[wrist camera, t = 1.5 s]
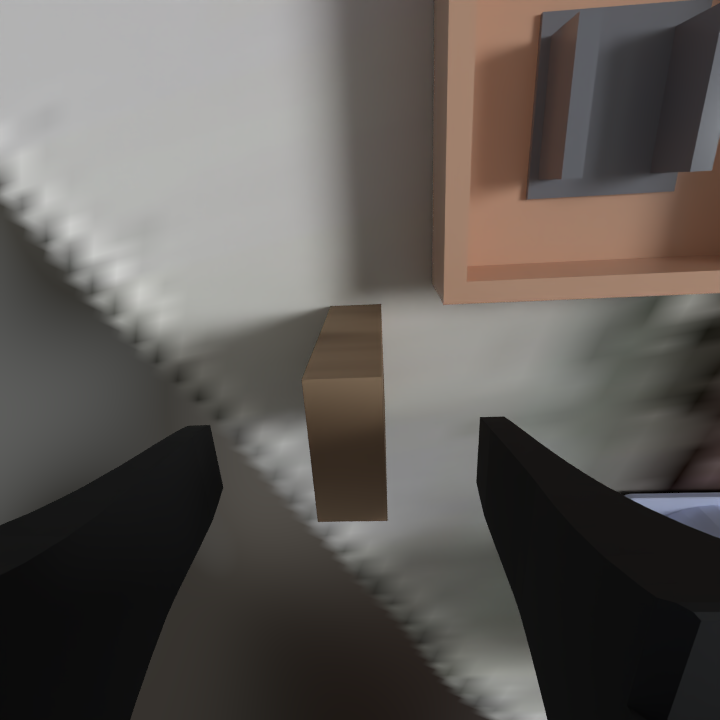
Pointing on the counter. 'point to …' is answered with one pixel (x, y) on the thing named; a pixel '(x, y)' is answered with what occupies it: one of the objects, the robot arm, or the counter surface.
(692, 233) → the shallow square frame box
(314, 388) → the tall brown plank
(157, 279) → the counter surface
